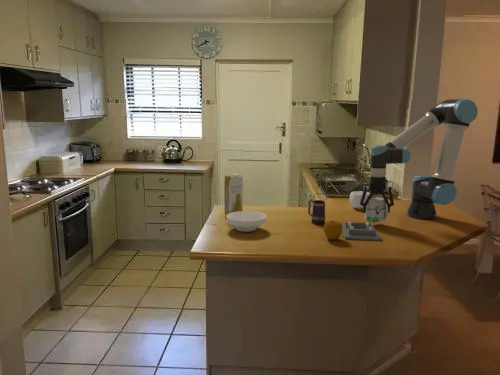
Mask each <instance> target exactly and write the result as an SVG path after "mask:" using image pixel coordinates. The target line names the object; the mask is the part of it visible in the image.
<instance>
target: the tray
mask: <svg viewBox="0 0 500 375" xmlns="http://www.w3.org/2000/svg"><path fill="white" fill-rule="evenodd" d="M342 227H343V229H342V234H343V237H344V239H345V240H358V241H360V240H361V241H381V242H382V237H381V235H380V234H379V233H378V231H377V230H376V228H375V226H373V225H372V222H358V221H357V222H353V221H345V224H342Z"/></svg>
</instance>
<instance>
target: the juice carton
mask: <svg viewBox="0 0 500 375" xmlns="http://www.w3.org/2000/svg"><path fill="white" fill-rule="evenodd" d="M223 179H224V182H223V184H224V186H223V187H224V188H223V190H224V192H223V193H224V194H223V195H224V198H223V200H224V201H223V202H224V203H223V204H224V209H223V210H224V216H225V215H228V214H229V213H232V212H238V211H244V210H243V207H244V206H243V205H244V204H243V200H244V199H243V198H244V197H243V196H244V195H243V194H244V193H243V191H244V190H243V188H244V185H243V184H244V183H243V182H244V181H243V175H241V174H238V173H233V174H232V175H224V178H223Z"/></svg>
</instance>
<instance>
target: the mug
mask: <svg viewBox="0 0 500 375" xmlns="http://www.w3.org/2000/svg"><path fill="white" fill-rule="evenodd" d="M311 202H312V212H311ZM307 205H308V206H307V213H308V215H309V216H310V217H311V223H312V224H313V223H314V224H313V225H318V224H321V225H325V223H326V202H325V201H324V200H321V199H316V200H314V199H312V198H310V199H308V201H307Z"/></svg>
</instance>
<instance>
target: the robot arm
mask: <svg viewBox="0 0 500 375" xmlns="http://www.w3.org/2000/svg"><path fill="white" fill-rule="evenodd" d="M478 111H479V110H478V106H477V105H476V103H475V102H474V101H473V100H471V99H468V98H458V99H457V98H455V99H452V98H451V99H445V100H442V101H441V102H439V103H438V104H435V106H433V107H431V109H429V110H427V111H426V112H425V114H424V116H423V117H421V118H419V120H417V121H415V122H414V123H413V124H412V125H410V126H409V127H407V128H406V129H405V130H403V131H402V132H400V133H399V134H398V135H396V136H395V137H394V138H393V139H391V140H390V141H389V142H387V143H385V144H380V145H379V144H375V145H373V146H371V151H370V175H369V179H370V180H369V185H368V186H365V185H363V188H362V189H363V194H362V197H361V200H360V205H361V206H363V210H362V212H363V213H364V219H365V220H367V213H368V207H367V204H368V202H369V200H370V199H371V198H373V196H374V195H381V196H382V198H384V200H385V202H386V213H385V220H388V217H389V215H388V214H390V213H391V207H392V206H394V205H395V203H394V197H393V194H392V193H393V192H392V189H393V188H392V187H391V185H389V186H388V185H386V179H387V178H386V175H387V165H391V164H392V165H393V164H399V165H400V164H407V163H409V161H410V159H411V152H410V150H409V149H408V148H407V147H408V146H409V145H411V144H412V143H414V142H415V141H416V140H417V139H419V138H420V137H422V136H423V135H425V134H426V133H427V132H429V131H430V130H432V129H434V127H439V126H440V125H444V126H445V131H444V135H443V139H442V143H441V147H440V150H439V155H438V158H437V159H438V160H437V163H436V167H435V171H434V173H433V174H432V175H414V177H413V179H412V192H411V201H410V204H409V207H408V209H407V211H406V212H407V213H406V215H407V216H408V217H410V218H414V219H421V220H434V219H436V218H437V209H436V206H435V205H437V204H438V205H443V206H446V205H448V204H450V203H452V202H453V201H454V200H455V198H456V197H457V193H458V190H457V188H456V186H455V182H456V180H455V178H454V173H455V168H456V165H457V161H458V156H459V154H460V153H459V152H460V149H461V145H462V141H463V138H464V133H465V131H466V130H467V129H469V127H470V123H472V122H473V121H475V120H476V118H477V117H478ZM368 190H369V191H370V192H369V193H370V194H369V195H368V197H367V199H366V200H365V202H364V199H365V196H366V192H367V191H368ZM385 190H386V191H387V193H388V198H389V200H388V198H387V196H386V193H385V192H384V191H385ZM363 202H364V203H363Z"/></svg>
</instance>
